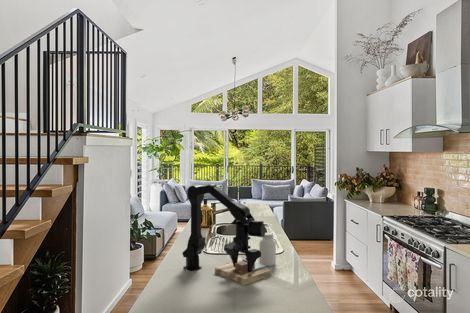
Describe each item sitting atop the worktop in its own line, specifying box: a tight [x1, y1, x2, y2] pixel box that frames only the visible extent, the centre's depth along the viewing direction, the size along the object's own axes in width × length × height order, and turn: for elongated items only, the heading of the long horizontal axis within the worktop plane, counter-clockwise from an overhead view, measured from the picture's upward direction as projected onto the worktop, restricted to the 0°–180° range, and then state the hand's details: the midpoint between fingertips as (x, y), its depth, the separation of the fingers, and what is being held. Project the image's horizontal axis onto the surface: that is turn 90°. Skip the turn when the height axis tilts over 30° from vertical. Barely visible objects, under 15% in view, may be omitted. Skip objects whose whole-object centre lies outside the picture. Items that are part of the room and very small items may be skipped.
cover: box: [241, 258, 267, 271], centre depth 167 cm, size 8×8×3 cm
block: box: [235, 260, 249, 275], centre depth 162 cm, size 4×4×6 cm
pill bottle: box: [259, 232, 277, 267], centre depth 179 cm, size 8×8×15 cm
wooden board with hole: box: [214, 259, 272, 286], centre depth 165 cm, size 20×16×2 cm
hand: (242, 269), depth 162 cm, fingers open, 9 cm apart
